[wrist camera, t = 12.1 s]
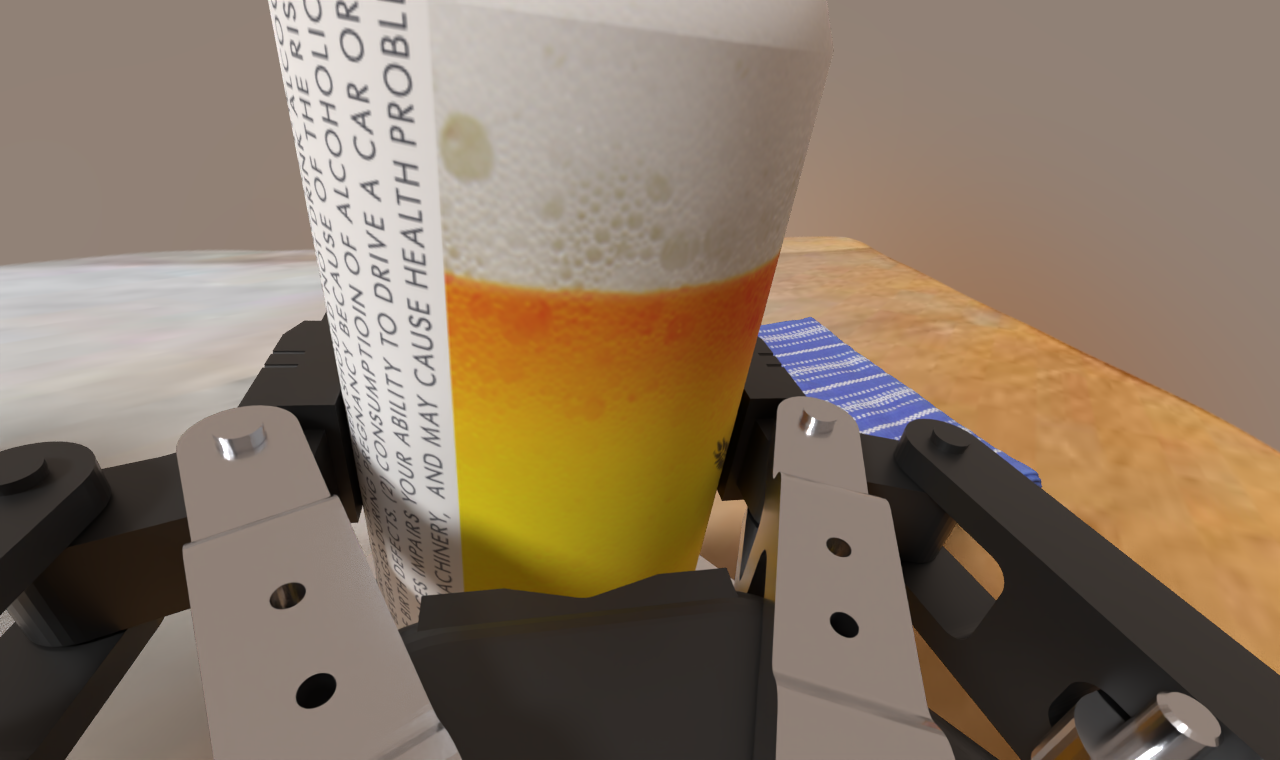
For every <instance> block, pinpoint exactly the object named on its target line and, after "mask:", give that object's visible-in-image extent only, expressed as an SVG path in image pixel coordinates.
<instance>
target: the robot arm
mask: <svg viewBox="0 0 1280 760" xmlns="http://www.w3.org/2000/svg"><path fill="white" fill-rule="evenodd" d="M717 491H718V493H719V495H720V497H721V500H722V501H728V500H745V502H746V504H747V508H746V511H745V514H744V517H743V521H742V527H741V535H740V543H739V551H738V559H737V567H736V575H735V583H734V586H733V583H732V581H731V578H730V576H729V573H728V571H727V568H717V569H707V570H696V571H685V572H674V573H663V574H657V575H654V576H651V577H648V578H645V579H642V580H639V581H637V582H634V583H631V584H628V585H625V586H622V587H619V588H616V589H613V590H610V591H607V592H605V593H602V594H599V595H596V596H592V597H588V598H576V597H568V596H561V595H553V594H545V593H537V592H529V591H521V590H513V589H506V588H501V589H491V590H480V591H469V592H458V593H448V594H437V595H426V596H421V604H420V612H419V620H418V622H417V623H414V624H411V625H408V626H405V627H403V628H400V629H397V627H396V625H395V622H394V620H393V618H392V616H391V613H390V611H389V609H388V607H387V604H386V602H385V600H384V598H383V595H382V593H381V591H380V589H379V586H378V584H377V582H376V580H375V577H374V575H373V573H372V571H371V568H370V566H369V564H368V562H367V559H366V557H365V555H364V553H363V550H362V548H361V546H360V544H359V541H358V539H357V537H356V535H355V532H354V530H353V528H352V526H351V523H357V522H358V521H359V517H360V513H361V509H362V506H363V503H362V497H361V492H360V487H359V481H358V476H357V471H356V466H355V460H354V455H353V450H352V444H351V439H350V434H349V428H348V423H347V418H346V412H345V407H344V402H343V396H342V391H341V386H340V380H339V375H338V370H337V364H336V359H335V354H334V348H333V343H332V338H331V332H330V327H329V322H328V316H327V312H326V313H325V315H324V317H323V319H322V321H303V322H302V323H300V324H299V325H297V326H295V327H294V328H292V329H291V330H289V331H288V332H286V333H285V334H283V335H282V337H281V339H280V340H279V342H278V343H277V345H276V347H275V348H274V350H273V354H271V355H270V356H269V358H268V359H267V361H266V363H265V368H262V369H261V371H260V372H259V374H258V375H257V377H256V379H255V380H254V382H253V384H252V385H251V387H250V388H249V390H248V392H247V393H246V395H245V396H244V398H243V400H242V401H241V403H240V404H239V406H238V408H233V409H229V410H225V411H222V412H219V413H216V414H214V415H211V416H209V417H207V418H205V419H203V420H201V421H199V422H197V423H196V424H194V425H193V426H192V427H190V428H189V429H188V430H187V431H186V432H185V433H184V434H183V435H182V436H181V438H180V439H179V441H178V443H177V446H176V453H173V454H170V455H166V456H162V457H158V458H153V459H148V460H144V461H139V462H134V463H129V464H125V465H120V466H115V467H110V468H105V469H101V468H100V466H99V464H98V462H97V460H96V458H95V456H94V454H93V452H92V451H91V450H90V449H89V448H87V447H85V446H83V445H80V444H76V443H70V442H42V443H35V444H28V445H23V446H19V447H15V448H11V449H7V450H4V451H1V452H0V615H1V614H2V613H3V612H4V611H5V610H7V611H8V613H9V614H10V615H11V617H12V618H13V619H14V621H15V623H14V624H13V625H12V626H11V627H10V628H9V629H8V630H7V631H6V632H5V633H4V634H3V635H2V636H1V637H0V760H65V759H66V757H67V756H68V754H69V753H70V752H71V750H72V749H73V747H74V746H75V745H76V743H77V742H78V740H79V739H80V737H81V736H82V735H83V733H84V732H85V730H86V729H87V728H88V726H89V725H90V723H91V722H92V720H93V719H94V718H95V716H96V715H97V713H98V712H99V711H100V709H101V708H102V706H103V705H104V703H105V702H106V701H107V699H108V698H109V696H110V695H111V694H112V692H113V691H114V689H115V688H116V686H117V685H118V684H119V682H120V681H121V679H122V678H123V677H124V675H125V674H126V672H127V671H128V669H129V668H130V667H131V665H132V664H133V662H134V661H135V660H136V658H137V657H138V655H139V654H140V652H141V651H142V650H143V648H144V647H145V645H146V644H147V643H148V641H149V640H150V638H151V637H152V635H153V634H154V633H155V631H156V630H157V628H158V627H159V625H160V624H161V622H162V620H163V619H164V617H165V616H168V615H171V614H174V613H177V612H180V611H184V610H187V609H190V608H191V613H192V620H193V626H194V633H195V640H196V646H197V653H198V659H199V666H200V673H201V679H202V686H203V692H204V699H205V706H206V712H207V719H208V725H209V732H210V739H211V745H212V752H213V758H214V760H998V759H997V758H996V757H994V756H993V755H992V754H990V753H989V752H988V751H986V750H985V749H983V748H982V747H981V746H979V745H978V744H977V743H975V742H974V741H973V740H971V739H970V738H969V737H967V736H966V735H964V734H963V733H962V732H960V731H959V730H958V729H956V728H955V727H954V726H952V725H951V724H950V723H948V722H947V721H946V720H944V719H943V718H941V717H940V716H939V715H937V714H936V713H935V712H933V711H932V710H931V709H929V708H928V707H927V702H926V697H925V691H924V686H923V681H922V675H921V670H920V664H919V659H918V654H917V648H916V643H915V638H914V632H913V627H912V625H913V626H914V628H915V629H916V630H917V631H918V633H919V634H920V635H921V636H922V638H923V639H924V640H925V641H926V643H927V644H928V645H929V646H930V647H931V649H932V650H933V651H934V652H935V654H936V655H937V656H938V657H939V659H940V660H941V661H942V662H943V664H944V665H945V666H946V667H947V669H948V670H949V671H950V672H951V673H952V675H953V676H954V677H955V678H956V680H957V681H958V682H959V683H960V685H961V686H962V687H963V688H964V690H965V691H966V692H967V693H968V695H969V696H970V697H971V698H972V699H973V701H974V702H975V703H976V704H977V706H978V707H979V708H980V709H981V711H982V712H983V713H984V714H985V716H986V717H987V718H988V719H989V721H990V722H991V723H992V724H993V725H994V727H995V728H996V729H997V730H998V732H999V733H1000V734H1001V735H1002V737H1003V738H1004V739H1005V740H1006V742H1007V743H1008V744H1009V745H1010V747H1011V748H1012V749H1013V750H1014V751H1015V753H1016V754H1017V755H1018V756H1019V758H1020V759H1021V760H1280V675H1279V674H1277V673H1276V672H1275V671H1274V670H1272V669H1271V668H1270V667H1268V666H1267V665H1266V664H1265V663H1263V662H1262V661H1261V660H1259V659H1258V658H1257V657H1256V656H1254V655H1253V654H1252V653H1251V652H1249V651H1248V650H1247V649H1245V648H1244V647H1243V646H1242V645H1240V644H1239V643H1238V642H1237V641H1235V640H1234V639H1233V638H1231V637H1230V636H1229V635H1228V634H1226V633H1225V632H1224V631H1222V630H1221V629H1220V628H1219V627H1217V626H1216V625H1215V624H1214V623H1212V622H1211V621H1210V620H1208V619H1207V618H1206V617H1205V616H1203V615H1202V614H1201V613H1200V612H1198V611H1197V610H1196V609H1194V608H1193V607H1192V606H1191V605H1189V604H1188V603H1187V602H1185V601H1184V600H1183V599H1182V598H1180V597H1179V596H1178V595H1177V594H1175V593H1174V592H1173V591H1171V590H1170V589H1169V588H1168V587H1166V586H1165V585H1164V584H1163V583H1161V582H1160V581H1159V580H1157V579H1156V578H1155V577H1154V576H1152V575H1151V574H1150V573H1148V572H1147V571H1146V570H1145V569H1143V568H1142V567H1141V566H1140V565H1138V564H1137V563H1136V562H1134V561H1133V560H1132V559H1131V558H1129V557H1128V556H1127V555H1126V554H1124V553H1123V552H1122V551H1120V550H1119V549H1118V548H1117V547H1115V546H1114V545H1113V544H1112V543H1110V542H1109V541H1108V540H1106V539H1105V538H1104V537H1103V536H1101V535H1100V534H1099V533H1097V532H1096V531H1095V530H1094V529H1092V528H1091V527H1090V526H1089V525H1087V524H1086V523H1085V522H1083V521H1082V520H1081V519H1080V518H1078V517H1077V516H1076V515H1075V514H1073V513H1072V512H1071V511H1069V510H1068V509H1067V508H1066V507H1064V506H1063V505H1062V504H1060V503H1059V502H1058V501H1057V500H1055V499H1054V498H1053V497H1052V496H1050V495H1049V494H1048V493H1046V492H1045V491H1044V490H1043V489H1041V488H1040V487H1039V486H1038V485H1036V484H1035V483H1034V482H1032V481H1031V480H1030V479H1029V478H1027V477H1026V476H1025V475H1023V474H1022V473H1021V472H1020V471H1018V470H1017V469H1016V468H1015V467H1013V466H1012V465H1011V464H1009V463H1008V462H1007V461H1006V460H1004V459H1003V458H1002V457H1001V456H999V455H998V454H997V453H995V452H994V451H993V450H992V449H990V448H989V447H988V446H986V445H985V444H984V443H983V442H981V441H980V440H979V439H978V438H976V437H975V436H973V435H972V434H970V433H969V432H967V431H965V430H963V429H961V428H959V427H957V426H955V425H952V424H950V423H946V422H943V421H939V420H934V419H916V420H913V421H911V422H909V423H908V424H907V425H906V427H905V429H904V432H903V434H902V436H901V438H900V440H894V439H889V438H883V437H878V436H873V435H867V434H862V433H859V428H858V425H857V423H856V421H855V420H854V419H853V417H852V416H851V415H850V414H848V413H847V412H846V411H845V410H843V409H842V408H840V407H838V406H836V405H834V404H832V403H830V402H827V401H825V400H821V399H818V398H813V397H806V395H805V394H804V393H803V391H802V390H801V389H800V387H799V386H798V385H797V383H796V382H795V381H794V380H793V378H792V377H791V376H790V374H789V373H788V372H787V370H786V369H785V368H784V367H782V364H781V363H780V361H779V360H778V359H777V357H776V356H773V352H772V351H771V350H770V348H769V347H768V346H767V344H766V343H765V342H764V340H763V339H761V338H760V337H757V341H756V344H755V348H754V352H753V356H752V359H751V363H750V367H749V371H748V374H747V378H746V382H745V386H744V389H743V393H742V397H741V401H740V404H739V408H738V412H737V416H736V419H735V423H734V427H733V431H732V434H731V438H730V442H729V446H728V449H727V453H726V457H725V461H724V464H723V468H722V472H721V476H720V479H719V483H718V487H717ZM956 523H958V524H959V525H960V526H961V527H962V528H963V529H964V530H965V531H966V532H967V533H968V534H969V535H970V536H971V537H972V538H973V539H974V540H976V541H977V542H978V543H979V544H980V545H981V546H982V547H983V548H984V549H985V550H986V551H987V552H988V553H989V554H990V555H991V556H992V557H993V558H994V559H995V560H996V561H997V563H998V564H999V566H1000V568H1001V570H1002V572H1003V576H1004V589H1003V592H1002V593H1001V595H1000V596H999V598H998V599H997V600H995V599H994V598H993V597H992V596H991V595H990V594H989V593H988V592H987V591H986V590H985V589H984V588H983V587H982V586H981V585H980V584H979V583H978V582H977V581H976V579H975V578H974V577H973V576H972V575H971V574H970V573H969V572H968V571H967V570H966V569H965V568H964V567H963V566H962V565H961V564H960V563H959V562H958V561H957V560H956V559H955V558H954V557H953V556H952V555H951V554H950V553H949V552H948V551H947V550H946V549H945V548H944V547H943V544H944V543H945V541H946V539H947V538H948V536H949V534H950V533H951V531H952V529H953V528H954V526H955V524H956Z"/></svg>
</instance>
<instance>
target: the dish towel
mask: <svg viewBox="0 0 1280 760" xmlns="http://www.w3.org/2000/svg"><path fill="white" fill-rule="evenodd" d="M758 337H760V338H761V339H763V340H764V342H765V343H766V344H767V346H768V347H769V348H770V350H771V351H772V352H773V356H776V357H777V359H778V360H779V361H780V363H781V364H782V367H784V368H785V369H786V370H787V372H788V373H789V374H790V376H791V377H792V378H793V380H794V381H795V382H796V383H797V385H798V386H799V387H800V389H801V390H802V391H803V393H804V394H805V395H806V397H813V398H818V399H821V400H825V401H827V402H830V403H832V404H834V405H836V406H838V407H840V408H842V409H843V410H845V411H846V412H847V413H848V414H850V415H851V416H852V417H853V419H854V420H855V421H856V423H857V425H858V428H859V433H862V434H867V435H873V436H878V437H883V438H889V439H894V440H900V438H901V436H902V434H903V432H904V429H905V427H906V425H907V424H908V423H909V422H911V421H913V420H916V419H934V420H939V421H943V422H946V423H950V424H952V425H955V426H957V427H959V428H961V429H963V430H965V431H967V432H969V433H970V434H972V435H973V436H975V437H976V438H978V439H979V440H980V441H981V442H983V443H984V444H985V445H986V446H988V447H989V448H990V449H992V450H993V451H994V452H995V453H997V454H998V455H999V456H1001V457H1002V458H1003V459H1004V460H1006V461H1007V462H1008V463H1009V464H1011V465H1012V466H1013V467H1015V468H1016V469H1017V470H1018V471H1020V472H1021V473H1022V474H1023V475H1025V476H1026V477H1027V478H1029V479H1030V480H1031V481H1032V482H1034V483H1035V484H1036V485H1038V486H1039V487H1040V488H1041V487H1042V486H1041V479H1040V478H1039V477H1038V473H1037V472H1036V471H1034V470H1033V469H1031V468H1030V467H1028V466H1027V465H1025V464H1023V463H1021V462H1019V461H1017V460H1015V459H1013V458H1011V457H1010V456H1008V455H1007V454H1005V453H1004V452H1002V451H1000V450H998V449H996V448H994V447H993V446H991V445H990V444H989V443H987V442H986V441H984V440H983V439H981V438H980V437H978V436H977V435H976V434H974V433H973V432H972V431H970V430H969V429H967V428H965V427H964V426H962V425H960V424H958V423H957V422H956V421H954V420H953V419H951V418H950V417H949V416H947V415H946V414H945V413H943V412H942V411H941V410H939V409H937V408H936V407H934V406H933V405H932V404H931V403H929V402H928V401H927V400H925V399H924V398H923V397H921V396H920V395H919V394H918V393H916V392H915V391H913V390H912V389H910V388H909V387H907V386H905V385H904V384H903V383H901V382H899V381H898V380H897V379H896V378H894V377H892V376H891V375H889V374H887V373H885V372H884V371H883V370H882V369H881V368H879V367H878V366H876V365H875V364H873V363H872V362H871V361H869V360H868V359H867V358H865V357H864V356H862V355H860V354H859V353H857V352H856V351H854V350H853V349H852V348H851V347H850V346H848V345H847V344H845V343H843V342H842V341H841V340H840V339H838V338H837V336H835V335H834V334H833V333H832V332H831V331H829V330H828V329H827V328H825V327H824V326H822V325H821V324H820V323H819V322H817V321H816V320H815V319H814V318H812V317H808V318H804V319H801V320H792V321H785V322H779V323H773V324H767V325H761V326H760V329H759V333H758Z"/></svg>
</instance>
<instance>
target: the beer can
mask: <svg viewBox="0 0 1280 760" xmlns="http://www.w3.org/2000/svg"><path fill="white" fill-rule="evenodd" d="M268 2H269V8H270V13H271V18H272V23H273V28H274V34H275V40H276V44H277V50H278V55H279V61H280V66H281V71H282V77H283V82H284V87H285V93H286V98H287V103H288V109H289V114H290V119H291V124H292V130H293V135H294V140H295V146H296V151H297V157H298V162H299V167H300V172H301V178H302V183H303V189H304V194H305V199H306V205H307V209H308V215H309V221H310V225H311V231H312V237H313V242H314V247H315V253H316V258H317V263H318V268H319V274H320V279H321V284H322V290H323V295H324V300H325V306H326V311H327V316H328V322H329V327H330V332H331V338H332V343H333V348H334V354H335V359H336V364H337V370H338V375H339V380H340V386H341V391H342V396H343V402H344V407H345V412H346V418H347V423H348V428H349V434H350V439H351V444H352V450H353V455H354V460H355V466H356V471H357V476H358V481H359V487H360V492H361V497H362V503H363V508H364V513H365V519H366V524H367V529H368V535H369V540H370V545H371V551H372V556H373V561H374V567H375V572H376V577H377V583H378V586H379V589H380V591H381V593H382V595H383V598H384V600H385V602H386V604H387V607H388V609H389V611H390V613H391V616H392V618H393V620H394V622H395V625H396V627H397V629H400V628H403V627H405V626H408V625H411V624H414V623H417V622H418V620H419V612H420V604H421V596H426V595H437V594H448V593H458V592H469V591H480V590H491V589H501V588H506V589H513V590H521V591H529V592H537V593H545V594H553V595H561V596H568V597H576V598H588V597H592V596H596V595H599V594H602V593H605V592H607V591H610V590H613V589H616V588H619V587H622V586H625V585H628V584H631V583H634V582H637V581H639V580H642V579H645V578H648V577H651V576H654V575H657V574H663V573H674V572H685V571H695V569H696V566H697V562H698V558H699V554H700V551H701V547H702V543H703V539H704V536H705V532H706V528H707V524H708V521H709V517H710V513H711V509H712V506H713V502H714V498H715V494H716V491H717V487H718V483H719V479H720V476H721V472H722V468H723V464H724V461H725V457H726V453H727V449H728V446H729V442H730V438H731V434H732V431H733V427H734V423H735V419H736V416H737V412H738V408H739V404H740V401H741V397H742V393H743V389H744V386H745V382H746V378H747V374H748V371H749V367H750V363H751V359H752V356H753V352H754V348H755V344H756V341H757V337H758V333H759V329H760V326H761V322H762V318H763V314H764V311H765V307H766V303H767V299H768V296H769V292H770V288H771V284H772V281H773V277H774V273H775V269H776V266H777V262H778V258H779V254H780V251H781V247H782V243H783V239H784V236H785V232H786V228H787V224H788V221H789V217H790V213H791V209H792V205H793V202H794V198H795V194H796V191H797V187H798V183H799V179H800V176H801V172H802V168H803V164H804V161H805V157H806V153H807V149H808V145H809V142H810V138H811V134H812V131H813V127H814V123H815V119H816V115H817V112H818V108H819V104H820V100H821V97H822V93H823V89H824V86H825V82H826V78H827V74H828V70H829V67H830V63H831V59H832V56H833V51H834V50H833V43H832V36H831V28H830V20H829V13H828V6H827V0H268Z"/></svg>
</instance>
